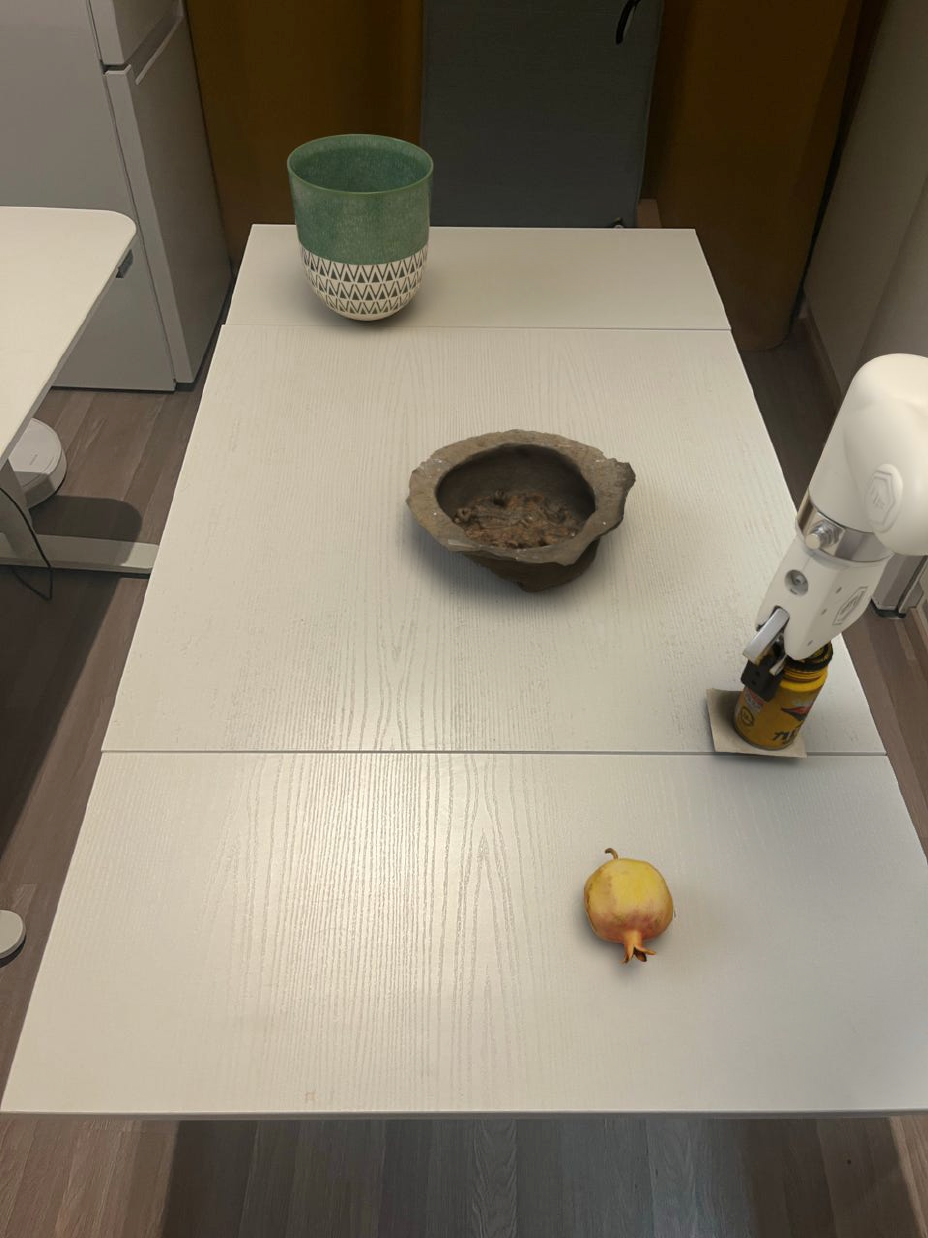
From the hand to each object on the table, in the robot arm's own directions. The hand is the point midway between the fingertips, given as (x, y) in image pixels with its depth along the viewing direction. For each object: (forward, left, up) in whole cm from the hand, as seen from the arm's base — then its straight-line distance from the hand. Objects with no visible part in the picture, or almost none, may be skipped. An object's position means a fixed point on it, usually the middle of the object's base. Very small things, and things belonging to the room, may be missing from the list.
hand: (780, 671), depth 80 cm
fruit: (-6, +24, -9) cm, 26 cm away
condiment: (0, +1, -7) cm, 7 cm away
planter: (+85, -14, -9) cm, 87 cm away
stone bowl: (+34, +1, -9) cm, 36 cm away
